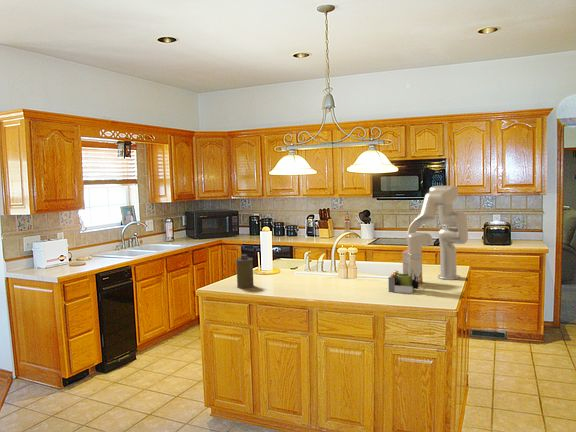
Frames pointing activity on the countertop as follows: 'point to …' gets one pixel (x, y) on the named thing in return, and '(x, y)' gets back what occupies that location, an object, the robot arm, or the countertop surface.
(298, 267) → the countertop surface
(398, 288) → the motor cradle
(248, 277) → the canister
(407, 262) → the cracker box
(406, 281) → the plant pot
